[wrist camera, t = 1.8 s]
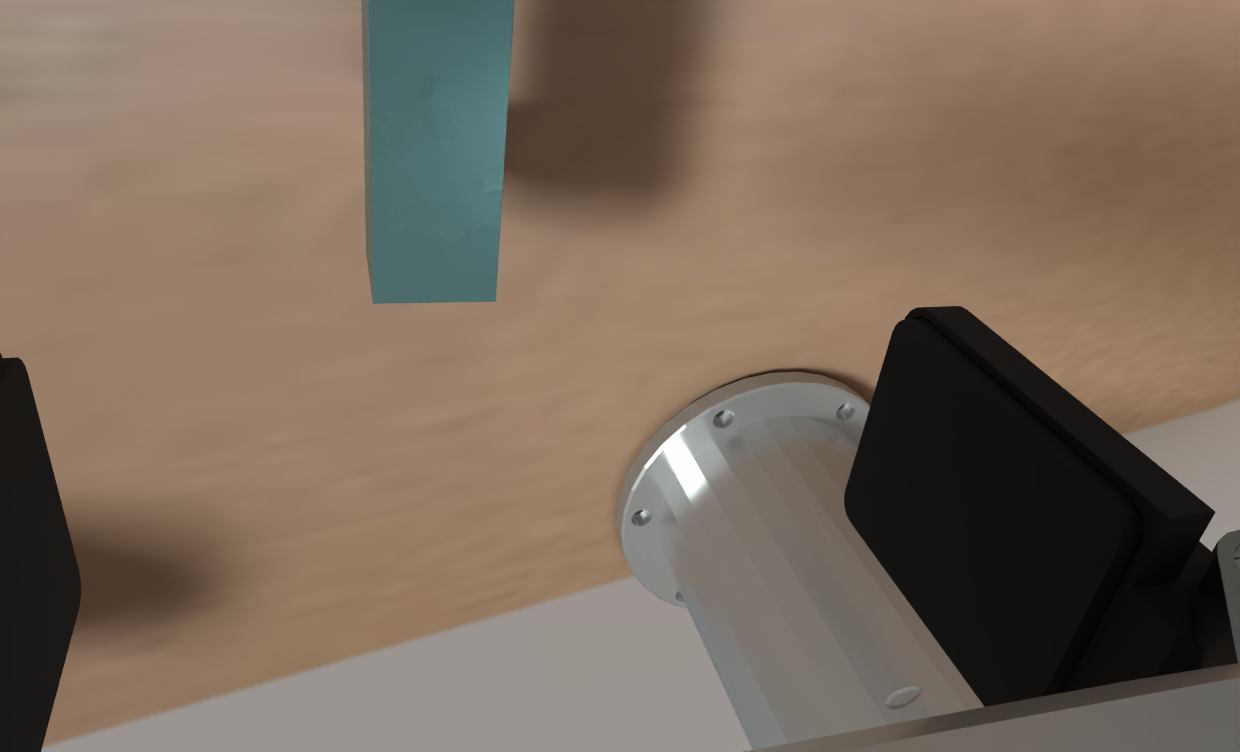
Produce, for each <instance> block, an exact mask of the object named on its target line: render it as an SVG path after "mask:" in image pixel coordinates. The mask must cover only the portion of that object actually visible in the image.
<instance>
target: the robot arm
mask: <svg viewBox="0 0 1240 752" xmlns="http://www.w3.org/2000/svg"><path fill="white" fill-rule="evenodd" d="M1214 514H1215V511H1214V510H1213V509H1211V508H1210V507H1209V506H1207V505H1206V504H1205V503H1204V502H1203V501H1201V500H1200V499H1199V498H1198V497H1196V496H1195V495H1194V494H1193V493H1191V492H1190V491H1189V490H1188V489H1187V488H1186V487H1184V486H1183V485H1182V484H1181V483H1179V482H1178V481H1177V480H1176V479H1174V478H1173V477H1172V476H1171V475H1170V474H1168V473H1167V472H1166V471H1165V470H1163V469H1162V468H1161V467H1160V466H1158V465H1157V464H1156V463H1155V462H1153V461H1152V460H1151V459H1150V458H1149V457H1147V456H1146V455H1145V454H1144V453H1142V452H1141V451H1140V450H1139V449H1138V448H1136V447H1135V446H1134V445H1133V444H1131V443H1130V442H1129V441H1128V440H1126V439H1125V438H1124V437H1123V436H1122V435H1120V434H1119V433H1118V432H1117V431H1115V430H1114V429H1113V428H1112V427H1111V426H1109V425H1108V424H1107V423H1106V422H1104V421H1103V420H1102V419H1101V418H1099V417H1098V416H1097V415H1096V414H1095V413H1093V412H1092V411H1091V410H1090V409H1088V408H1087V407H1086V406H1085V405H1083V404H1082V403H1081V402H1080V401H1079V400H1077V399H1076V398H1075V397H1074V396H1072V395H1071V394H1070V393H1069V392H1067V391H1066V390H1065V389H1064V388H1063V387H1061V386H1060V385H1059V384H1058V383H1056V382H1055V381H1054V380H1053V379H1051V378H1050V377H1049V376H1048V375H1047V374H1045V373H1044V372H1043V371H1042V370H1040V369H1039V368H1038V367H1037V366H1036V365H1034V364H1033V363H1032V362H1031V361H1029V360H1028V359H1027V358H1026V357H1024V356H1023V355H1022V354H1021V353H1020V352H1018V351H1017V350H1016V349H1015V348H1013V347H1012V346H1011V345H1010V344H1008V343H1007V342H1006V341H1005V340H1004V339H1002V338H1001V337H1000V336H999V335H997V334H996V333H995V332H994V331H992V330H991V329H990V328H989V327H988V326H986V325H985V324H984V323H983V322H981V321H980V320H979V319H978V318H977V317H975V316H974V315H973V314H972V313H970V312H969V311H968V310H966V309H965V308H963V307H961V306H947V307H921V308H915V309H913V310H911V311H910V312H909V314H908V315H907V316H906V317H905V320H902V321H900V322H898V324H897V325H896V326H895V328H894V330H893V332H892V335H891V339H890V342H889V345H888V349H887V352H886V355H885V359H884V362H883V365H882V369H881V372H880V375H879V379H878V382H877V385H876V389H875V392H874V395H873V399H872V402H871V405H869V404H868V403H867V401H866V400H865V399H864V398H863V397H862V396H861V395H860V394H858V393H857V392H856V391H854V390H853V389H851V388H850V387H848V386H847V385H845V384H844V383H842V382H839V381H836V380H834V379H831V378H828V377H826V376H823V375H817V374H811V373H804V372H779V373H768V374H764V375H759V376H755V377H750V378H745V379H742V380H739V381H737V382H734V383H732V384H729V385H726V386H724V387H721V388H719V389H716V390H714V391H713V392H711V393H709V394H707V395H705V396H704V397H702V398H700V399H698V400H697V401H695V402H693V403H691V404H690V405H688V406H687V407H686V408H684V409H683V410H682V411H681V412H679V413H678V414H677V415H675V416H674V417H673V418H672V419H670V420H669V421H668V422H666V424H665V425H664V426H663V427H662V428H661V429H660V430H659V431H658V432H657V433H656V434H655V435H654V436H653V437H652V438H651V439H650V440H649V441H648V443H647V444H646V445H645V447H644V448H643V450H642V451H641V452H640V454H639V455H638V457H637V458H636V460H635V461H634V463H633V464H632V466H631V468H630V470H629V472H628V475H627V477H626V479H625V481H624V484H623V486H622V488H621V492H620V497H619V502H618V506H617V511H616V515H617V535H618V538H619V542H620V545H621V549H622V552H623V554H624V556H625V558H626V561H627V563H628V565H629V567H630V569H631V572H632V573H633V575H634V576H635V577H636V578H637V579H638V580H639V582H640V583H641V584H642V585H643V587H644V588H646V589H647V590H649V591H650V592H651V593H653V594H654V595H656V596H657V597H658V598H660V599H662V600H664V601H666V602H668V603H671V604H673V605H676V606H679V607H684V608H688V610H689V613H690V615H691V617H692V619H693V621H694V623H695V626H696V628H697V630H698V632H699V634H700V636H701V639H702V641H703V643H704V645H705V648H706V650H707V652H708V654H709V656H710V658H711V661H712V663H713V665H714V667H715V669H716V671H717V674H718V676H719V678H720V680H721V682H722V685H723V687H724V689H725V691H726V693H727V695H728V698H729V700H730V702H731V704H732V706H733V708H734V710H735V713H736V715H737V717H738V719H739V722H740V724H741V726H742V728H743V730H744V732H745V735H746V737H747V739H748V741H749V743H750V745H751V748H752V750H751V751H745V752H1240V530H1238V531H1233V532H1229V533H1227V534H1226V535H1224V536H1223V537H1222V538H1221V539H1220V540H1219V541H1218V542H1217V544H1216V546H1215V548H1214V549H1213V551H1212V552H1211V551H1210V550H1209V549H1208V548H1206V547H1205V546H1204V545H1203V544H1202V543H1201V542H1199V540H1200V538H1201V536H1202V535H1203V533H1204V531H1205V529H1206V528H1207V526H1208V524H1209V522H1210V521H1211V519H1212V517H1213V515H1214ZM80 597H81V582H80V574H79V568H78V565H77V561H76V557H75V553H74V549H73V545H72V542H71V538H70V534H69V530H68V526H67V522H66V519H65V515H64V511H63V507H62V503H61V499H60V496H59V492H58V488H57V484H56V480H55V476H54V473H53V469H52V465H51V461H50V457H49V453H48V450H47V446H46V442H45V438H44V434H43V430H42V427H41V423H40V419H39V415H38V411H37V407H36V404H35V400H34V396H33V392H32V388H31V384H30V380H29V377H28V373H27V370H26V367H25V365H24V363H23V361H22V360H21V359H19V358H2V355H1V353H0V752H41V749H42V745H43V742H44V738H45V734H46V730H47V727H48V723H49V719H50V716H51V712H52V708H53V704H54V701H55V697H56V693H57V689H58V686H59V682H60V678H61V674H62V671H63V667H64V663H65V659H66V656H67V652H68V648H69V644H70V641H71V637H72V633H73V629H74V626H75V622H76V618H77V614H78V611H79V605H80Z"/></svg>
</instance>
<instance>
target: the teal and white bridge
mask: <svg viewBox="0 0 1240 752" xmlns="http://www.w3.org/2000/svg"><path fill="white" fill-rule="evenodd" d="M513 16H514V0H362V44H363V101H364V159H365V217H366V255H367V262H368V270H369V277H370V285H371V292H372V300H373V304H377V303H434V302H492V301H496V287H497V271H498V255H499V239H500V223H501V207H502V191H503V175H504V159H505V143H506V127H507V111H508V95H509V79H510V64H511V48H512V32H513Z"/></svg>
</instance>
